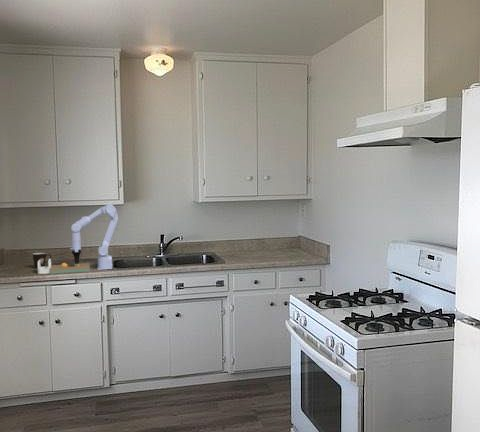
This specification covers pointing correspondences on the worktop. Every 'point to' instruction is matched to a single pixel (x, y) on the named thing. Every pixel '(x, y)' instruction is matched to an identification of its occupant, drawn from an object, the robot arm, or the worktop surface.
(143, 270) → the worktop surface
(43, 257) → the coffee mug
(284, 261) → the worktop surface
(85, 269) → the pitch
